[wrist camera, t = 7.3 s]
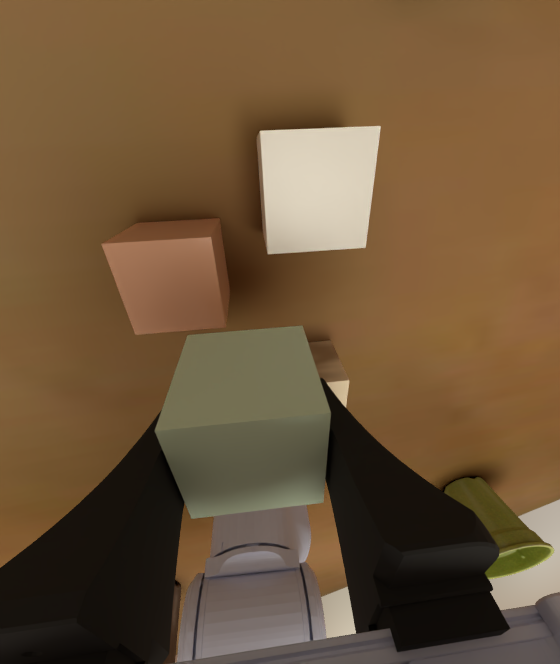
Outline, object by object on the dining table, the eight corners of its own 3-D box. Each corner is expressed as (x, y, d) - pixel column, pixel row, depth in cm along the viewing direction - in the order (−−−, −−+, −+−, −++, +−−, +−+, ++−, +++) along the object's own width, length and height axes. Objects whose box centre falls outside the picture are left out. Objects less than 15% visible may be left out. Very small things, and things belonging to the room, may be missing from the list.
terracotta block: (219, 217, 17) (210, 237, 13) (230, 291, 20) (225, 327, 16) (137, 222, 17) (101, 244, 13) (159, 296, 20) (135, 334, 15)
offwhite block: (344, 134, 16) (380, 125, 11) (338, 227, 18) (365, 247, 14) (256, 138, 15) (260, 130, 11) (262, 231, 18) (267, 254, 14)
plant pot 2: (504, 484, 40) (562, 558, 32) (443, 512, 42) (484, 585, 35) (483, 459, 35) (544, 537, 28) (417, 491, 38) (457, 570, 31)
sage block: (302, 325, 12) (331, 413, 8) (301, 405, 15) (323, 502, 11) (187, 335, 12) (154, 430, 8) (208, 414, 15) (191, 518, 10)
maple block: (330, 339, 23) (349, 380, 19) (327, 384, 26) (343, 428, 22) (271, 345, 23) (276, 387, 19) (274, 389, 26) (279, 435, 21)
